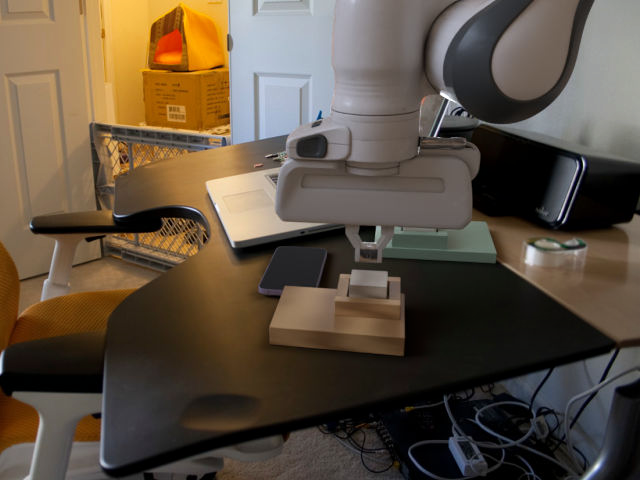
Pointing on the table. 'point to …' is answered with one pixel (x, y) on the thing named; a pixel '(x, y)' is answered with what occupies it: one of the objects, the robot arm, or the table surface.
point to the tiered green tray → (442, 244)
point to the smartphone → (293, 269)
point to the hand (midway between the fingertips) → (368, 260)
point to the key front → (368, 284)
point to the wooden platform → (340, 319)
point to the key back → (419, 229)
